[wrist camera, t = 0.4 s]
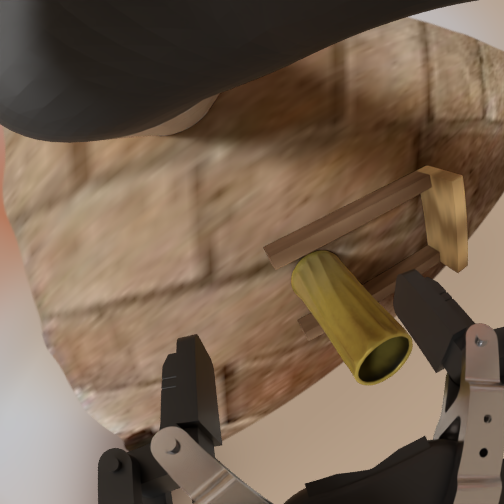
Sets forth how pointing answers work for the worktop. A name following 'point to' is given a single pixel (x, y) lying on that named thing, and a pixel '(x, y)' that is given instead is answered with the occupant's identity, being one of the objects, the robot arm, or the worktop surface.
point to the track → (374, 205)
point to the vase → (351, 318)
